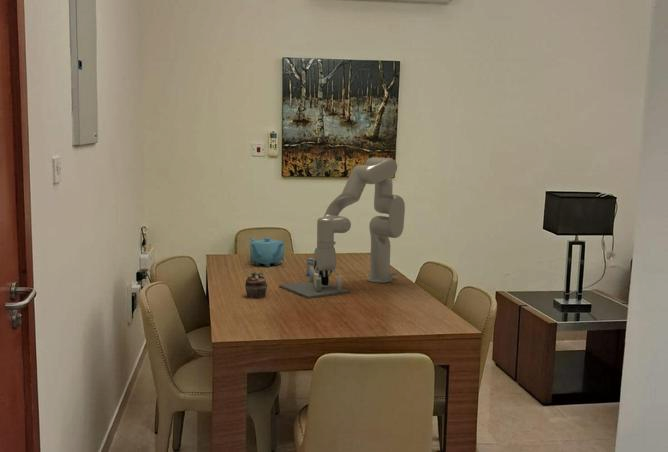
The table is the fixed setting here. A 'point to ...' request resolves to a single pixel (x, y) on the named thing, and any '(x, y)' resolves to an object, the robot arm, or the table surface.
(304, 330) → the table surface
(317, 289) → the bar
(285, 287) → the gate base
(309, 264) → the medicine box
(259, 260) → the teakettle
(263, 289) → the cupcake
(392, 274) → the robot arm
